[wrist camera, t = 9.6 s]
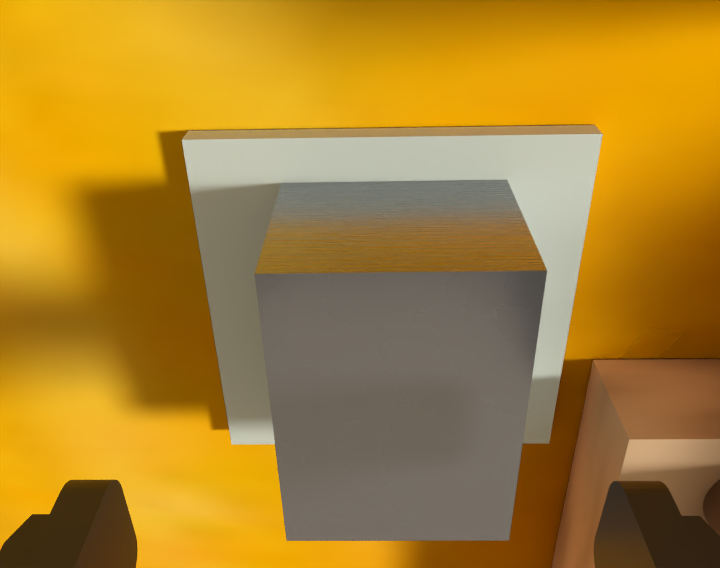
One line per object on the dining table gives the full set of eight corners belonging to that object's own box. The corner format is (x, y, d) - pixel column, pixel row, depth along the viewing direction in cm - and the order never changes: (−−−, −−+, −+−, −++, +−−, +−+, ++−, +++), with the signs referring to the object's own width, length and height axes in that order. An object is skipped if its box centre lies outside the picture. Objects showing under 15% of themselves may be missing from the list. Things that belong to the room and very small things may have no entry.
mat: (235, 429, 20) (231, 444, 19) (188, 130, 15) (182, 139, 14) (544, 428, 19) (548, 443, 19) (594, 124, 15) (602, 134, 14)
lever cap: (302, 418, 19) (286, 540, 15) (281, 182, 15) (254, 273, 12) (483, 417, 18) (509, 540, 15) (507, 179, 15) (546, 271, 11)
